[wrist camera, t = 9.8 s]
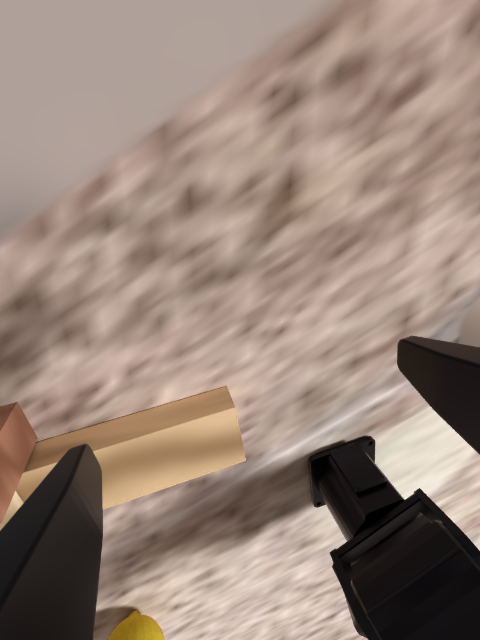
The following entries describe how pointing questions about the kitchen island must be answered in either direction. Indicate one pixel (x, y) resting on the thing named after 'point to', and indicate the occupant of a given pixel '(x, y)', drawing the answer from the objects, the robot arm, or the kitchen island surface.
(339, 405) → the kitchen island surface
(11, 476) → the chocolate colored brick
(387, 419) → the kitchen island surface
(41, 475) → the plank
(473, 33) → the kitchen island surface
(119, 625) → the lemon
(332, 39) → the kitchen island surface
